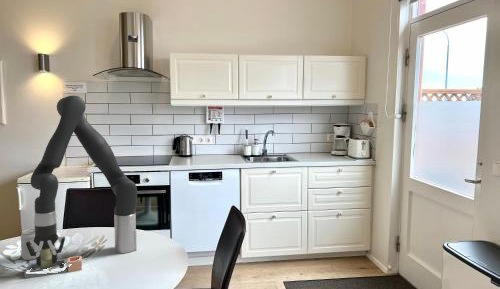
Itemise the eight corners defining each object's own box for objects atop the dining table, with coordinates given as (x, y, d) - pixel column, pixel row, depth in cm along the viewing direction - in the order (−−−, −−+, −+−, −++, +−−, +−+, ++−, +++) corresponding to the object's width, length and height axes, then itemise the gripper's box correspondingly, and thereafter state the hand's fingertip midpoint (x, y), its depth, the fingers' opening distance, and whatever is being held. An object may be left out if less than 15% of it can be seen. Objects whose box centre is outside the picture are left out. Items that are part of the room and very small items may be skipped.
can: (32, 261, 149) (31, 234, 148) (17, 260, 150) (16, 232, 149) (45, 254, 156) (45, 228, 155) (31, 252, 158) (30, 226, 156)
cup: (81, 264, 147) (81, 255, 147) (81, 270, 143) (81, 260, 142) (68, 266, 145) (68, 257, 145) (67, 272, 141) (67, 262, 140)
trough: (68, 263, 149) (67, 258, 148) (66, 272, 141) (66, 267, 140) (28, 268, 143) (28, 263, 143) (24, 278, 135) (24, 273, 135)
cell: (54, 263, 145) (53, 243, 144) (52, 268, 141) (52, 247, 140) (41, 265, 143) (40, 244, 142) (39, 270, 139) (39, 249, 138)
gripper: (66, 217, 146) (67, 257, 148) (26, 221, 140) (27, 262, 142) (65, 223, 139) (66, 265, 141) (22, 227, 133) (24, 270, 135)
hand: (46, 263), depth 142 cm, fingers closed on cell, 4 cm apart
